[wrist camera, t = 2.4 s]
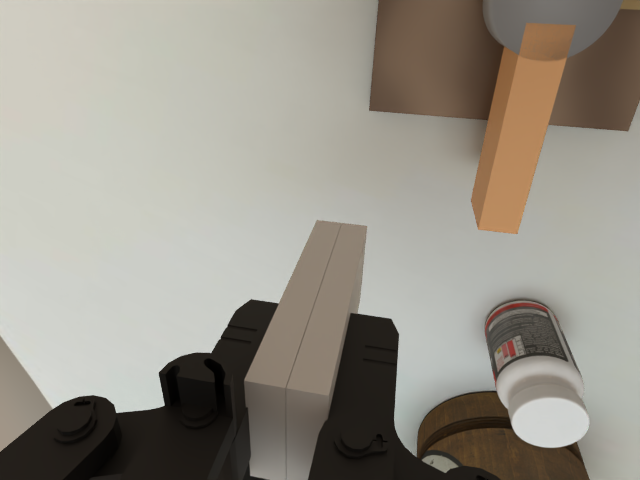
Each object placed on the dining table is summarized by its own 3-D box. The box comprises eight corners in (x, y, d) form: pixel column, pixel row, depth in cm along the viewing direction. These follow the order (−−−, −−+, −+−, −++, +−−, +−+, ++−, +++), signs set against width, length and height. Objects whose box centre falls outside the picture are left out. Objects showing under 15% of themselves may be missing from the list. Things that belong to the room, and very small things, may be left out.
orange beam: (494, -66, 21) (509, -78, 18) (609, -64, 20) (647, -76, 17) (445, 197, 28) (449, 226, 24) (530, 206, 27) (547, 237, 24)
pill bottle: (469, 328, 39) (483, 423, 30) (517, 285, 36) (548, 376, 27) (521, 362, 39) (550, 464, 31) (573, 323, 36) (620, 423, 28)
